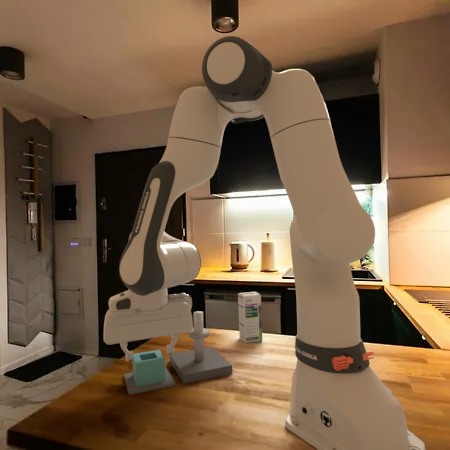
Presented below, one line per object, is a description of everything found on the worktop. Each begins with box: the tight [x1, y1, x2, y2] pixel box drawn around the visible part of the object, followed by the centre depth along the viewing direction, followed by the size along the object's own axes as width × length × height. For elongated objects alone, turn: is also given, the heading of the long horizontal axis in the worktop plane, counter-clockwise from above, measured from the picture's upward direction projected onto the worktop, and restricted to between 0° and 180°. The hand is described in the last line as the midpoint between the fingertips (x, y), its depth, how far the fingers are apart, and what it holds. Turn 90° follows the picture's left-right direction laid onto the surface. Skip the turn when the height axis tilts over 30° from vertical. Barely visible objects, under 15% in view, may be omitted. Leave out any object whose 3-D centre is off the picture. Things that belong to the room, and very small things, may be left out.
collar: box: [132, 349, 166, 387], centre depth 77 cm, size 6×6×5 cm
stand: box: [169, 310, 233, 385], centre depth 83 cm, size 14×12×14 cm
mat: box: [123, 365, 176, 396], centre depth 77 cm, size 10×10×1 cm
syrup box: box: [237, 291, 263, 344], centre depth 103 cm, size 6×6×14 cm
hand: (150, 356), depth 77 cm, fingers open, 8 cm apart
